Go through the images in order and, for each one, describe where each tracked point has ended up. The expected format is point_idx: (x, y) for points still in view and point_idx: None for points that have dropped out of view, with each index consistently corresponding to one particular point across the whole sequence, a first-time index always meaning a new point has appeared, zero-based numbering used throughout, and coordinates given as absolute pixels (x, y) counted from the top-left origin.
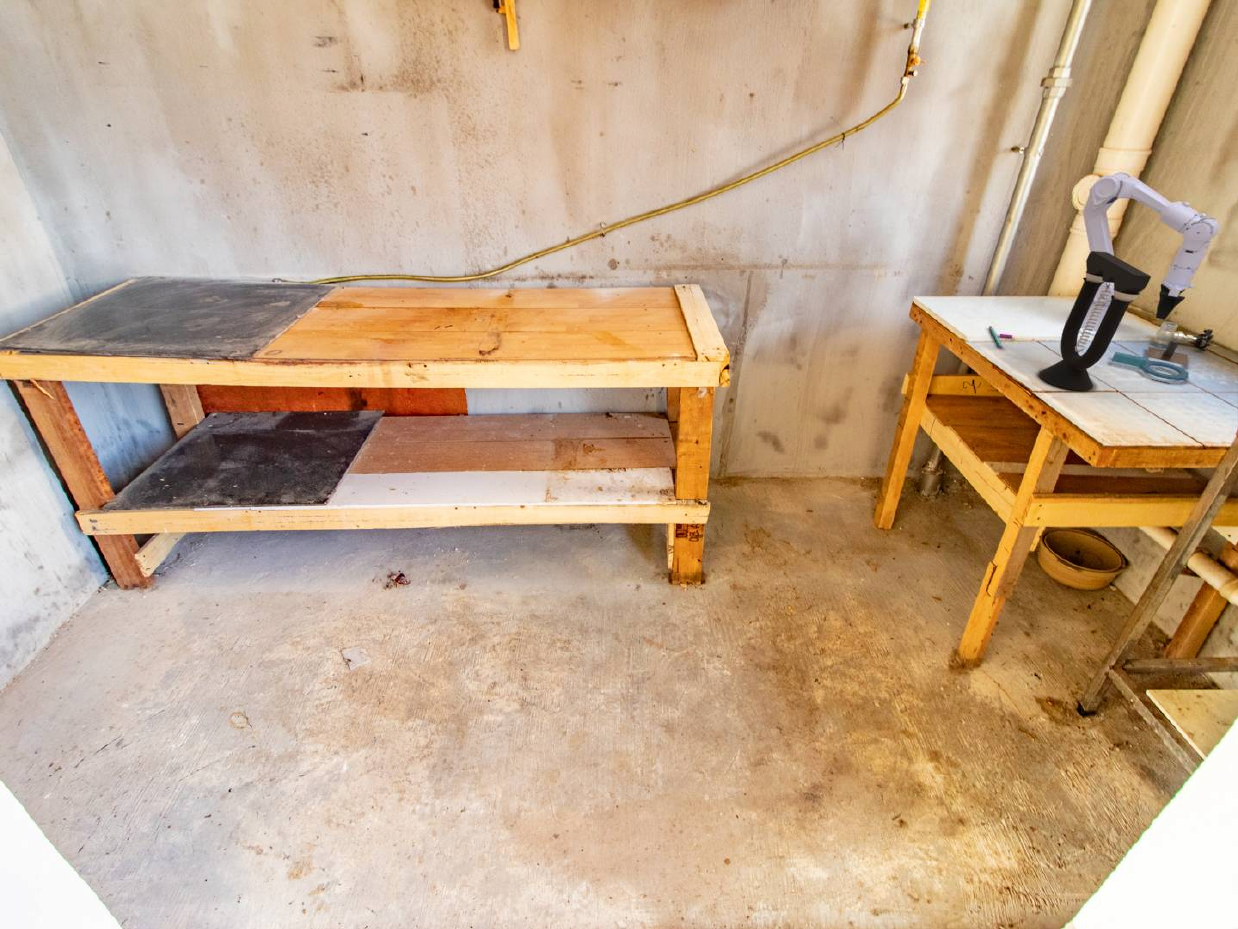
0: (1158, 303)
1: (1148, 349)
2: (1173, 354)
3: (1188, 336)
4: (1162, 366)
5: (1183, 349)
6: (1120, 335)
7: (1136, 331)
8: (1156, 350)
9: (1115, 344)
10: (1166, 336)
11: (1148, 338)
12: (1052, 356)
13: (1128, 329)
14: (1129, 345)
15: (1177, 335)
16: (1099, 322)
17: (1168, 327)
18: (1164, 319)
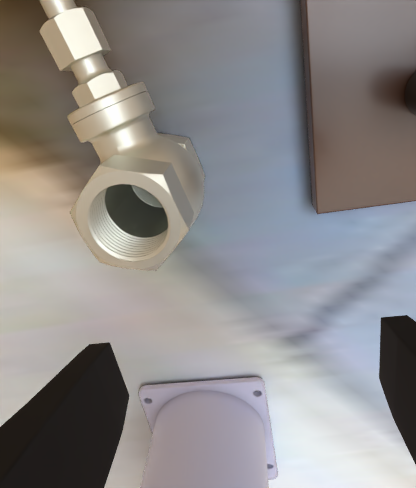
0: (109, 469)
1: (377, 204)
2: (371, 61)
3: (89, 44)
4: None
5: None
6: (168, 333)
7: (37, 294)
8: (363, 165)
9: (327, 327)
10: (201, 176)
11: None
12: None
13: (44, 324)
14: (291, 281)
15: (138, 120)
16: (260, 462)
17: (184, 214)
18: (408, 317)
